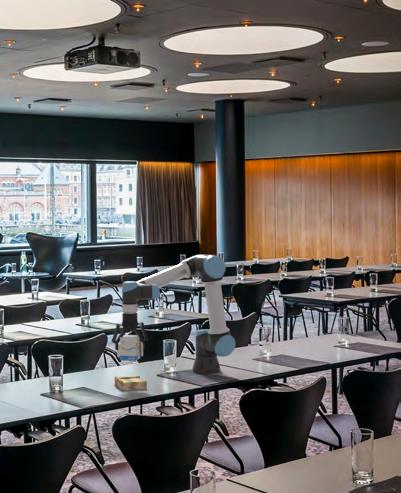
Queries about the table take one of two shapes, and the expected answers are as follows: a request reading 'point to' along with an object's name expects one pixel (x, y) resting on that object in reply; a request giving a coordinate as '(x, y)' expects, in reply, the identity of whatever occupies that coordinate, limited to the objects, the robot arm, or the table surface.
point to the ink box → (129, 348)
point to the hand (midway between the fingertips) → (130, 356)
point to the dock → (130, 383)
